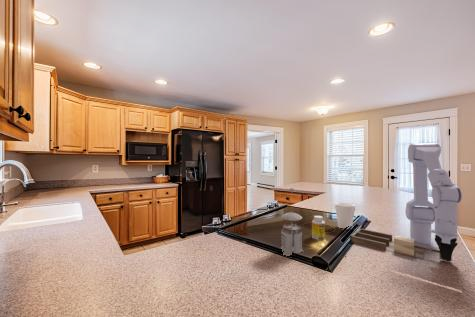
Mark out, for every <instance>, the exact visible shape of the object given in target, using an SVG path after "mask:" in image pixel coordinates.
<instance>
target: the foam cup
mask: <svg viewBox="0 0 475 317" xmlns="http://www.w3.org/2000/svg"><path fill="white" fill-rule="evenodd" d="M334 204H335V206H334V208H335V213H336V222H337V228H338V227H339V228H338V229H340V228H346V227H348V226H352V227H353V224H354V223H353V222H354V216H355V212H356V204H353V203H349V202H335V203H334Z"/></svg>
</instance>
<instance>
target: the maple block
mask: <svg viewBox="0 0 475 317" xmlns="http://www.w3.org/2000/svg"><path fill="white" fill-rule="evenodd" d="M393 241H394V251H396V252H400V253H404V254H408V255H412V256H414V253H415V247H416V248H420V249H425V251H428V252H429V251H430V252H434V253H438V254H439V256H438V257H439V260H442V259H441V255H440V251H439V249H433V248H428V247H425V246H421V245H420V246H419V245H416V244H415V243H416V242H415V239H410V238H409V237H404V236H400V235H394V237H393ZM452 261H453V260H452V257H451V260H450V261H449V262H452Z"/></svg>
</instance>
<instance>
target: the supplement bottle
mask: <svg viewBox="0 0 475 317" xmlns="http://www.w3.org/2000/svg"><path fill="white" fill-rule="evenodd" d="M325 228H326V222H325V221H324V217H323V216H322V215H313V219H312V220H311V238H312V239H314V240H317V241H318V240H319V241H322V239H323V240H325V239H324V238H325V234H326V229H325Z"/></svg>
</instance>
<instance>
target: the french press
mask: <svg viewBox="0 0 475 317" xmlns="http://www.w3.org/2000/svg"><path fill="white" fill-rule="evenodd" d="M289 192H295V189H294V188H292V187H291V188H289ZM280 218H281V219H283V220H285V221H291V223H290V224H284V225H282V229H281V231H280V232H281V239H280V240H281V246H280V248H281V249H282V252H283V251H284V252H283V255H282V256H284V255H286V256H285V257H287V256H290V255H292V251H294V253H300V252H301V251H303V246H302V245H303V243H302V242H303V236H302V235H303V231H302V227H301V226H299V225H297V223H295V224H294V223H293V221H294V222H296V221H301V220H302V219H303V216H301V214H298V213H295V212H293V211H291V212H286V213H284V214H281V216H280Z"/></svg>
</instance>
